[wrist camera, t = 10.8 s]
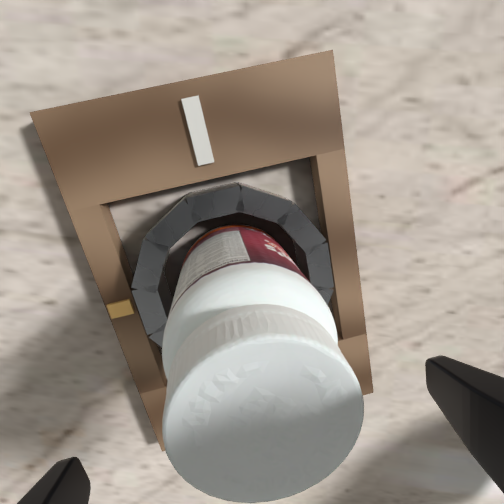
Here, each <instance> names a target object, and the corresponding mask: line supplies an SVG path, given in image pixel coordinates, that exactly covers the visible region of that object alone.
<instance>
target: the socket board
mask: <svg viewBox="0 0 504 504" xmlns="http://www.w3.org/2000/svg"><path fill="white" fill-rule="evenodd" d="M30 115H31V118H32V120H33V123H34V125H35V128H36V130H37V133H38V135H39V138H40V141H41V143H42V146H43V148H44V151H45V153H46V156H47V158H48V161H49V164H50V166H51V169H52V171H53V174H54V176H55V179H56V181H57V184H58V187H59V189H60V192H61V194H62V197H63V199H64V202H65V204H66V207H67V210H68V212H69V215H70V217H71V220H72V222H73V225H74V227H75V230H76V233H77V235H78V238H79V240H80V243H81V245H82V248H83V250H84V253H85V256H86V258H87V261H88V263H89V266H90V268H91V271H92V273H93V276H94V279H95V281H96V284H97V286H98V289H99V291H100V294H101V296H102V299H103V302H104V304H105V307H106V309H107V312H108V314H109V317H110V319H111V322H112V325H113V327H114V330H115V332H116V335H117V337H118V340H119V342H120V345H121V348H122V350H123V353H124V355H125V358H126V360H127V363H128V365H129V368H130V371H131V373H132V376H133V378H134V381H135V383H136V386H137V388H138V391H139V394H140V396H141V399H142V401H143V404H144V406H145V409H146V411H147V414H148V417H149V419H150V422H151V424H152V427H153V429H154V432H155V434H156V437H157V440H158V442H159V445H160V447H161V450H162V451H165V446H164V441H163V434H162V419H163V412H164V405H165V400H166V390H167V382H168V380H167V378H166V375H165V371H164V367H163V360H162V357H161V354H160V351H159V348H158V346H157V344H158V345H159V346H160V347H162V344H163V335H164V330H165V326H166V323H167V320H168V316H169V313H170V309H171V305H172V302H173V299H172V295H171V292H170V289H169V286H168V283H167V280H166V277H165V273H164V271H165V267H166V263H167V259H168V255H169V252H170V248H171V247H172V246H173V245H174V244H175V243H176V242H177V241H178V240H179V239H180V238H181V237H183V236H184V235H185V234H186V233H187V232H188V231H189V230H190V229H191V228H192V227H193V226H194V225H195V224H196V223H197V222H199V221H204V220H208V219H212V218H216V217H221V216H225V215H229V214H233V213H238V212H242V213H245V214H249V215H252V216H255V217H259V218H262V219H265V220H269V221H272V222H275V223H278V224H279V225H280V227H281V228H282V229H283V230H284V231H285V232H286V233H287V234H288V235H289V237H290V238H291V239H292V240H293V242H294V248H295V254H296V259H297V265H298V268H299V270H300V271H301V272H302V273H303V274H304V276H305V277H306V278H307V279H308V280H309V282H310V283H311V284H312V285H313V286H314V287H315V288H316V289H317V291H318V292H319V294H320V295H321V296H322V298H323V299H324V301H325V302H326V304H327V306H328V303H329V301H330V298H331V302H332V309H333V315H334V322H335V325H336V330H337V337H338V347H339V349H340V351H341V353H342V354H343V356H344V357H345V359H346V360H347V362H348V363H349V365H350V366H351V368H352V370H353V372H354V374H355V375H356V377H357V379H358V382H359V385H360V388H361V391H362V395H366V394H370V393H373V384H372V376H371V367H370V359H369V351H368V342H367V334H366V325H365V317H364V308H363V300H362V292H361V283H360V275H359V266H358V258H357V249H356V241H355V233H354V224H353V216H352V207H351V199H350V191H349V182H348V174H347V165H346V157H345V148H344V140H343V132H342V123H341V115H340V106H339V98H338V89H337V81H336V73H335V64H334V56H333V50H330V51H325V52H320V53H315V54H310V55H305V56H301V57H296V58H291V59H286V60H281V61H276V62H272V63H267V64H262V65H257V66H252V67H247V68H242V69H238V70H233V71H228V72H223V73H218V74H213V75H209V76H204V77H199V78H194V79H189V80H184V81H180V82H175V83H170V84H165V85H160V86H155V87H151V88H146V89H141V90H136V91H131V92H126V93H122V94H117V95H112V96H107V97H102V98H97V99H93V100H88V101H83V102H78V103H73V104H68V105H63V106H59V107H54V108H49V109H44V110H39V111H34V112H30ZM306 157H310V164H311V170H312V177H313V183H314V190H315V197H316V203H317V210H318V216H319V223H320V230H321V233H320V232H319V231H318V230H317V228H316V227H315V226H314V225H313V224H312V223H311V221H310V220H309V219H308V218H307V217H306V216H305V214H304V213H303V212H302V211H301V210H300V208H299V207H298V206H297V205H296V204H295V203H293V202H292V201H290V200H288V199H286V198H284V197H282V196H280V195H277V194H273V193H270V192H267V191H264V190H261V189H258V188H255V187H252V186H248V185H245V184H242V183H239V182H238V184H237V183H236V182H234V183H229V184H225V185H220V186H216V187H212V188H207V189H203V190H199V191H194V192H190V193H189V194H188V195H187V194H186V195H185V196H184V197H183V198H182V199H181V200H180V201H179V202H178V203H177V204H176V205H175V206H174V207H173V208H172V209H171V210H170V211H169V212H168V213H167V214H165V215H164V216H163V217H162V218H161V219H160V220H159V221H158V222H157V223H156V224H155V225H154V226H153V227H152V228H151V230H150V231H149V232H148V233H147V234H146V236H145V238H144V239H143V241H142V246H141V250H140V254H139V258H138V262H137V266H136V270H135V274H134V277H133V274H132V271H131V269H130V266H129V263H128V260H127V257H126V254H125V252H124V249H123V246H122V243H121V240H120V237H119V234H118V232H117V229H116V226H115V223H114V220H113V217H112V214H111V212H110V209H109V206H108V202H113V201H117V200H121V199H126V198H130V197H135V196H139V195H143V194H148V193H152V192H157V191H161V190H165V189H170V188H174V187H179V186H183V185H187V184H192V183H196V182H201V181H205V180H209V179H214V178H218V177H223V176H227V175H231V174H236V173H240V172H245V171H249V170H253V169H258V168H262V167H267V166H271V165H275V164H280V163H284V162H289V161H293V160H297V159H302V158H306Z"/></svg>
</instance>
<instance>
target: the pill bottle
mask: <svg viewBox="0 0 504 504" xmlns="http://www.w3.org/2000/svg"><path fill="white" fill-rule="evenodd" d="M162 359H163V367H164V371H165V375H166V378H167V380H168V382H167V390H166V400H165V405H164V412H163V419H162V434H163V441H164V446H165V450H166V453H167V456H168V458H169V460H170V461H171V463H172V465H173V466H174V468H175V469H176V471H177V472H178V473H179V474H180V475H181V476H182V477H183V478H184V480H185V481H187V482H188V483H189V484H191V485H192V486H193V487H195V488H196V489H198V490H200V491H202V492H204V493H206V494H208V495H209V496H213V497H216V498H220V499H223V500H227V501H234V502H243V503H255V502H268V501H273V500H278V499H282V498H286V497H289V496H292V495H295V494H297V493H300V492H302V491H304V490H306V489H308V488H310V487H312V486H313V485H315V484H317V483H319V482H320V481H322V480H323V479H324V478H326V477H327V476H328V475H330V474H331V473H332V472H333V471H334V470H335V469H336V468H337V467H338V466H339V465H340V464H341V463H342V462H343V461H344V459H345V458H346V457H347V456H348V454H349V452H350V451H351V450H352V448H353V446H354V445H355V442H356V440H357V438H358V436H359V433H360V431H361V427H362V422H363V416H364V402H363V395H362V391H361V388H360V385H359V382H358V379H357V377H356V375H355V374H354V372H353V370H352V368H351V366H350V365H349V363H348V362H347V360H346V359H345V357H344V356H343V354H342V353H341V351H340V349H339V347H338V337H337V330H336V325H335V322H334V319H333V316H332V314H331V311H330V309H329V307H328V306H327V304H326V302H325V301H324V299H323V298H322V296H321V295H320V294H319V292H318V291H317V289H316V288H315V287H314V286H313V285H312V284H311V283H310V282H309V280H308V279H307V278H306V277H305V276H304V274H303V273H302V272H301V271H300V270H299V268H298V267H297V266H296V264H295V263H294V262H293V260H292V259H291V258H290V257H289V255H288V254H287V253H286V252H285V251H284V249H283V248H282V247H281V246H280V244H279V243H278V242H277V241H276V240H275V239H274V238H273V237H272V236H270V235H269V234H268V233H266V232H265V231H263V230H261V229H259V228H256V227H253V226H250V225H244V224H229V225H224V226H220V227H217V228H215V229H212V230H210V231H209V232H207V233H205V234H204V235H203V236H201V237H200V238H199V239H198V240H197V241H196V242H195V243H194V244H193V245H192V247H191V248H190V250H189V251H188V253H187V255H186V257H185V259H184V262H183V265H182V269H181V273H180V276H179V280H178V284H177V287H176V291H175V294H174V298H173V302H172V305H171V309H170V313H169V316H168V320H167V323H166V326H165V330H164V335H163V344H162Z"/></svg>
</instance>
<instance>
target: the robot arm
mask: <svg viewBox="0 0 504 504" xmlns="http://www.w3.org/2000/svg"><path fill="white" fill-rule="evenodd" d="M425 366H426V384H427V388H428V391H429V393H430V395H431V396H432V398H433V399H434V401H435V402H436V403H437V405H438V406H439V408H440V409H441V411H442V412H443V414H444V415H445V417H446V418H447V420H448V421H449V422H450V424H451V425H452V427H453V428H454V430H455V431H456V433H457V434H458V436H459V437H460V439H461V440H462V441H463V443H464V444H465V446H466V447H467V448H468V450H469V451H470V453H471V454H472V455H473V456H474V458H475V459H476V460H477V461H478V463H479V464H480V465H481V466H482V467H483V469H484V470H485V471H486V472H487V474H488V475H489V476H490V477H491V478H492V480H493V481H494V482H495V483H496V485H497V486H498V487H499V488H500V489H501V491H502V492H503V493H504V378H503V377H500V376H498V375H495V374H492V373H489V372H487V371H484V370H481V369H478V368H476V367H473V366H470V365H468V364H465V363H462V362H459V361H457V360H454V359H451V358H448V357H446V356H436V357H433V358H429V359H427V360H426V364H425ZM89 496H90V480H89V478H88V476H87V474H86V472H85V470H84V468H83V466H82V464H81V462H80V460H79V459H78V458H77V457H71V458H67V459H64V460H61V461H58V462H57V463H56V464H55V465H54V466H53V467H52V468H51V469H50V470H49V471H48V472H47V473H46V474H45V475H44V476H43V477H42V478H41V479H40V480H39V481H38V482H37V483H36V484H35V485H34V486H33V487H32V488H31V489H30V491H29V492H28V493H27V494H26V495H25V496H24V497H23V498H22V499H21V500H20V501H19V502H18V503H17V504H88V502H89Z"/></svg>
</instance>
